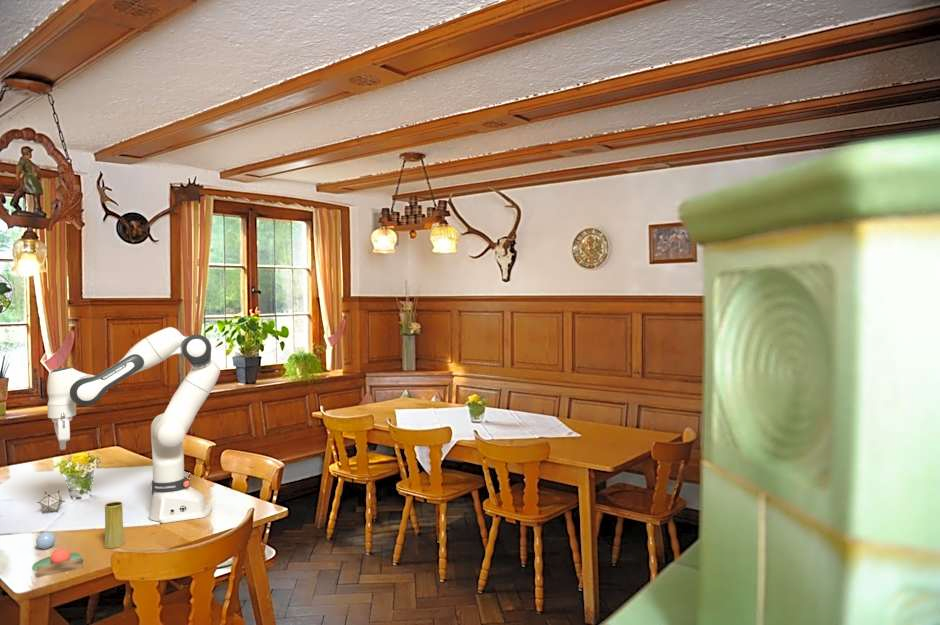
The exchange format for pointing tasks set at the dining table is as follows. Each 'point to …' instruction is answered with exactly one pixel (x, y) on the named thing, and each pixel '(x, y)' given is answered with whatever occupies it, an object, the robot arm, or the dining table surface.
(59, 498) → the game die
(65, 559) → the red ball
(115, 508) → the vase
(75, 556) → the green mark
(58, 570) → the walnut stop
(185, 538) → the dining table surface
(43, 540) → the blue ball
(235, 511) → the dining table surface
